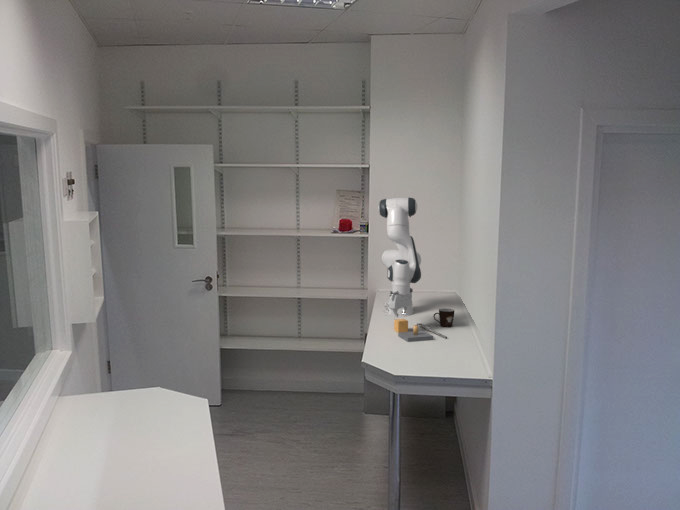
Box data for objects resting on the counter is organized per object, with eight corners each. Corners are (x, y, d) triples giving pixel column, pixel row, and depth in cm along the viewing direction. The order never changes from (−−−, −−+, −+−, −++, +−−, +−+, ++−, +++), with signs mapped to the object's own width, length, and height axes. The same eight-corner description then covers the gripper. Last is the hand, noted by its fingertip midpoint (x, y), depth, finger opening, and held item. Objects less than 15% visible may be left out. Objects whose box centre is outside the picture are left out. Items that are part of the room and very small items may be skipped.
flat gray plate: (398, 336, 305) (398, 323, 305) (422, 334, 310) (422, 322, 309) (407, 341, 294) (408, 329, 293) (433, 339, 298) (433, 327, 298)
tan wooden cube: (394, 330, 318) (394, 319, 318) (403, 329, 320) (403, 318, 319) (398, 332, 313) (398, 321, 312) (407, 332, 315) (408, 320, 314)
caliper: (422, 327, 329) (415, 325, 327) (424, 323, 329) (417, 321, 327) (451, 341, 302) (444, 339, 300) (453, 336, 302) (445, 334, 300)
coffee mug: (453, 326, 329) (453, 308, 328) (454, 329, 321) (455, 311, 320) (432, 325, 330) (432, 308, 329) (433, 329, 322) (433, 311, 321)
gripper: (397, 293, 303) (396, 319, 304) (414, 288, 321) (413, 314, 322) (386, 291, 307) (385, 318, 308) (403, 287, 324) (402, 312, 325)
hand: (400, 315), depth 315 cm, fingers open, 8 cm apart
